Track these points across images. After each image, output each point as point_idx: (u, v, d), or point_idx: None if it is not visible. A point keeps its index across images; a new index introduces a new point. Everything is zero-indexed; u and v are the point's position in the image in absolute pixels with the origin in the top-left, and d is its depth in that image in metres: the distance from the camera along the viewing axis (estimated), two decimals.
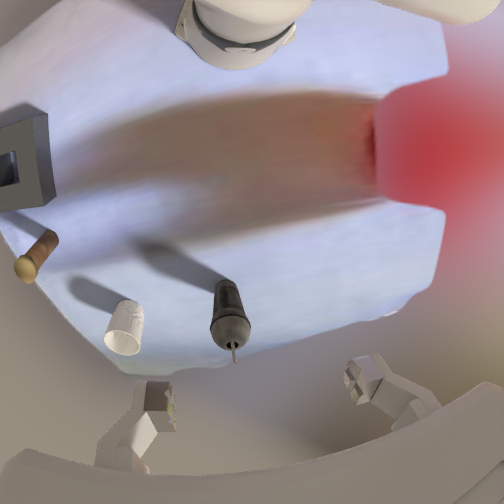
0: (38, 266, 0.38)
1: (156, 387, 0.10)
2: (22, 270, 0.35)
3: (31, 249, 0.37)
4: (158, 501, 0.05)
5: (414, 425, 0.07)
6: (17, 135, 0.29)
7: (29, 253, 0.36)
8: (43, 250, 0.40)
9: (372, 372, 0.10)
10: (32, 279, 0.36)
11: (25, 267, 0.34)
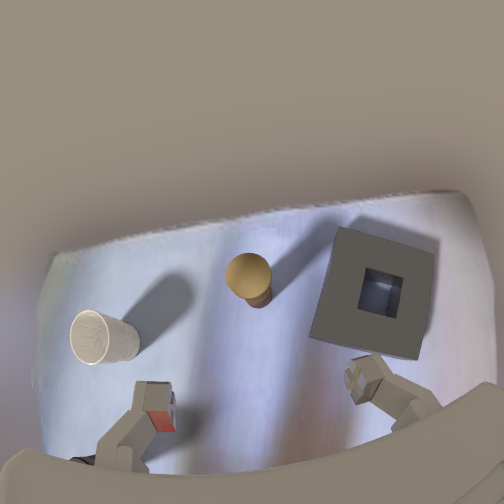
0: None
1: (156, 387, 0.10)
2: (251, 272, 0.30)
3: None
4: (158, 501, 0.05)
5: (414, 425, 0.07)
6: (410, 329, 0.32)
7: None
8: (255, 301, 0.35)
9: (372, 372, 0.10)
10: (230, 282, 0.30)
11: (253, 283, 0.30)
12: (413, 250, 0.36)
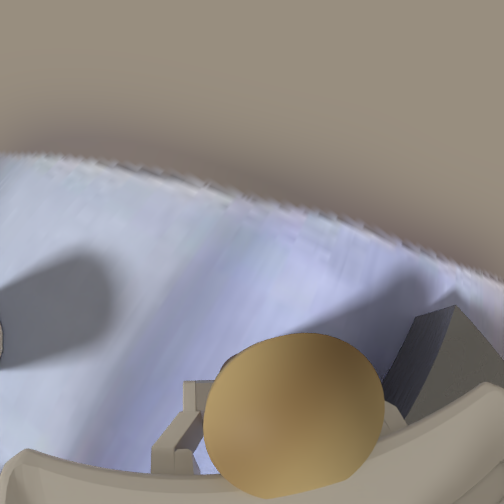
0: None
1: (204, 386, 0.10)
2: (317, 422, 0.06)
3: None
4: (158, 501, 0.05)
5: (414, 425, 0.07)
6: None
7: None
8: None
9: None
10: (216, 436, 0.06)
11: (308, 463, 0.05)
12: None
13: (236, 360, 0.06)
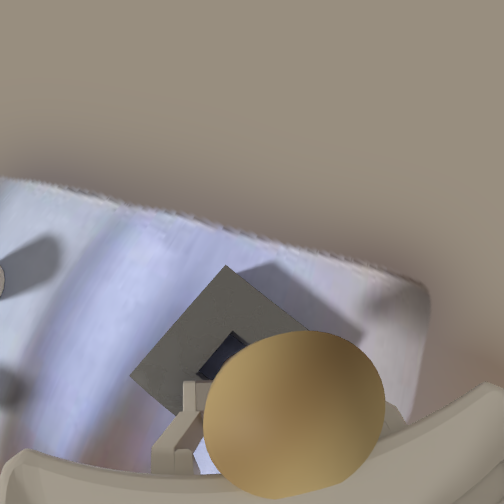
0: None
1: (204, 386, 0.10)
2: (318, 420, 0.06)
3: None
4: (158, 501, 0.05)
5: (414, 425, 0.07)
6: None
7: None
8: None
9: None
10: (216, 434, 0.05)
11: (309, 462, 0.05)
12: None
13: (236, 358, 0.06)
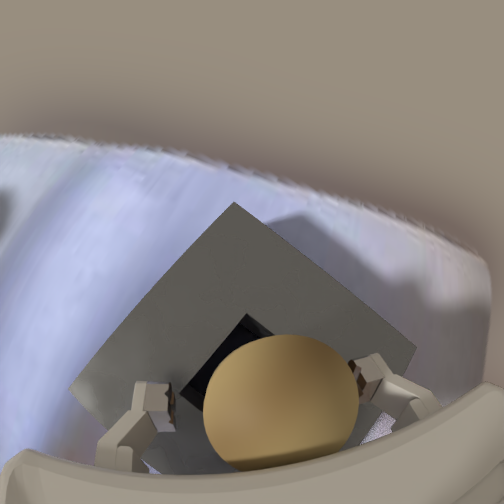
0: None
1: (155, 387, 0.10)
2: (298, 409, 0.07)
3: None
4: (158, 501, 0.05)
5: (414, 425, 0.07)
6: None
7: None
8: None
9: (372, 372, 0.10)
10: (214, 419, 0.07)
11: (291, 445, 0.07)
12: (377, 321, 0.16)
13: (230, 356, 0.08)
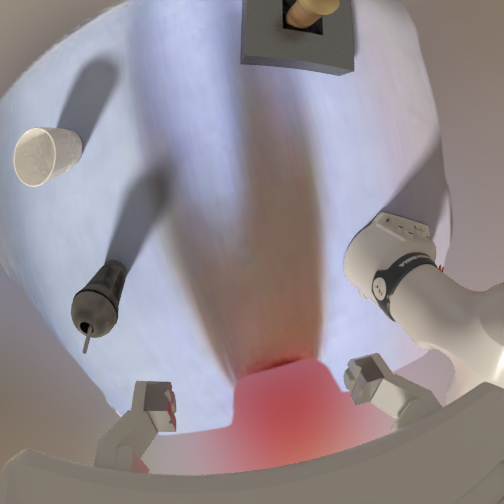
0: (309, 14, 0.24)
1: (156, 387, 0.10)
2: None
3: None
4: (158, 501, 0.05)
5: (414, 425, 0.07)
6: (339, 45, 0.29)
7: None
8: (310, 23, 0.27)
9: (372, 372, 0.10)
10: (308, 3, 0.21)
11: (328, 3, 0.21)
12: None
13: None
